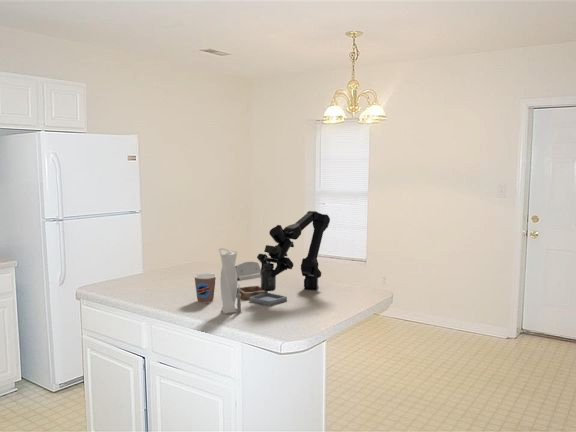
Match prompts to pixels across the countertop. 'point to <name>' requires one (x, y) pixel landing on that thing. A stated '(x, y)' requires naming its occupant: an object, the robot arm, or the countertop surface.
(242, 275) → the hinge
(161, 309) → the countertop surface
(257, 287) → the slot holder
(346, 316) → the countertop surface
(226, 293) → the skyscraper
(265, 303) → the tray
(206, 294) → the coffee cup
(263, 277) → the supplement bottle
